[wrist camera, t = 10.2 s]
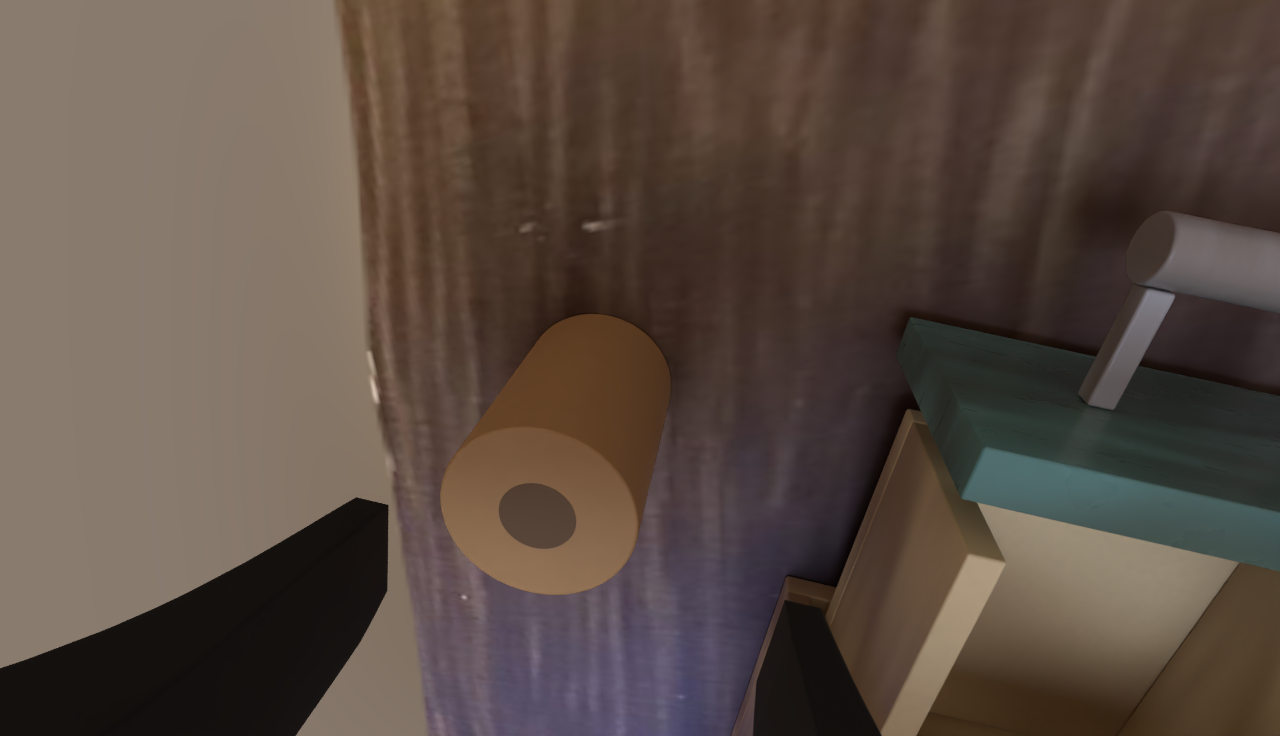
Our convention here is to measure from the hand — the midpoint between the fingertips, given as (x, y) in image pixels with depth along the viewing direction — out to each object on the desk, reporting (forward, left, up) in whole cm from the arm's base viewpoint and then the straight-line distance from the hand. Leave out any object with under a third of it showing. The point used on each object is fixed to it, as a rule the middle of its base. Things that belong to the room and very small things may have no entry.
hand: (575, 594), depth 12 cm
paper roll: (+2, 0, -10) cm, 10 cm away
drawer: (-8, +10, -9) cm, 16 cm away
